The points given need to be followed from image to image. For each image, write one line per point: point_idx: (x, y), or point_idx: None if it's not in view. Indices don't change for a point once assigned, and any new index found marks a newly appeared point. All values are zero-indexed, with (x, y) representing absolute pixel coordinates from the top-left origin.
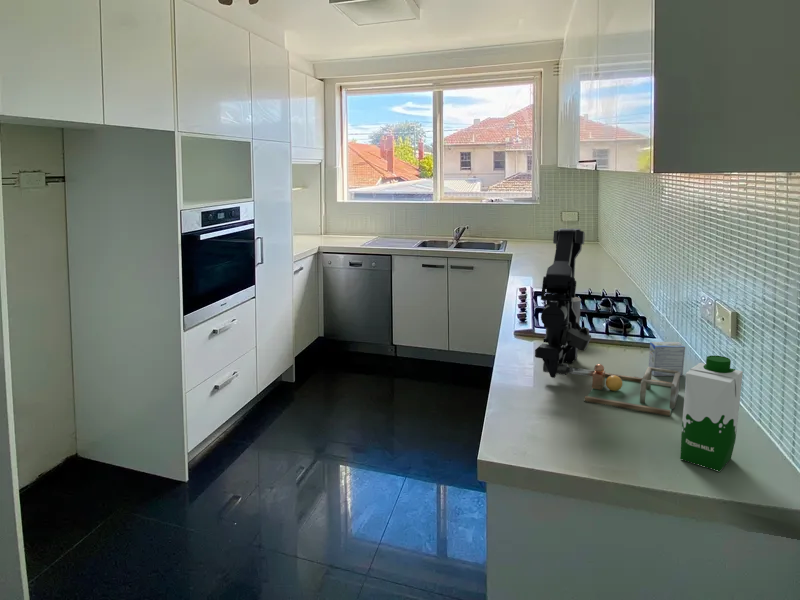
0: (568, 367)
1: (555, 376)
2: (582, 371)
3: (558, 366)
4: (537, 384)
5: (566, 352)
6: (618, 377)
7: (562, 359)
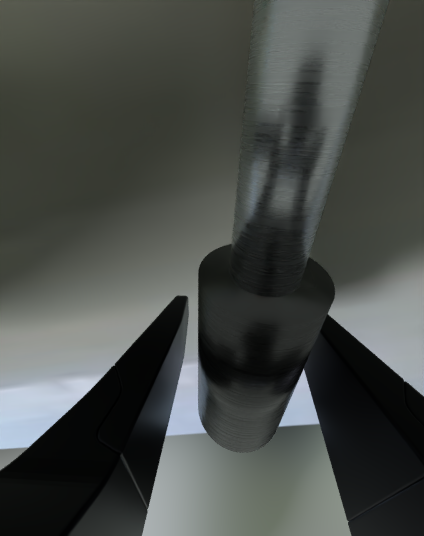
0: (285, 279)
1: None
2: (386, 2)
3: (304, 365)
4: None
5: (76, 522)
6: None
7: (149, 392)
